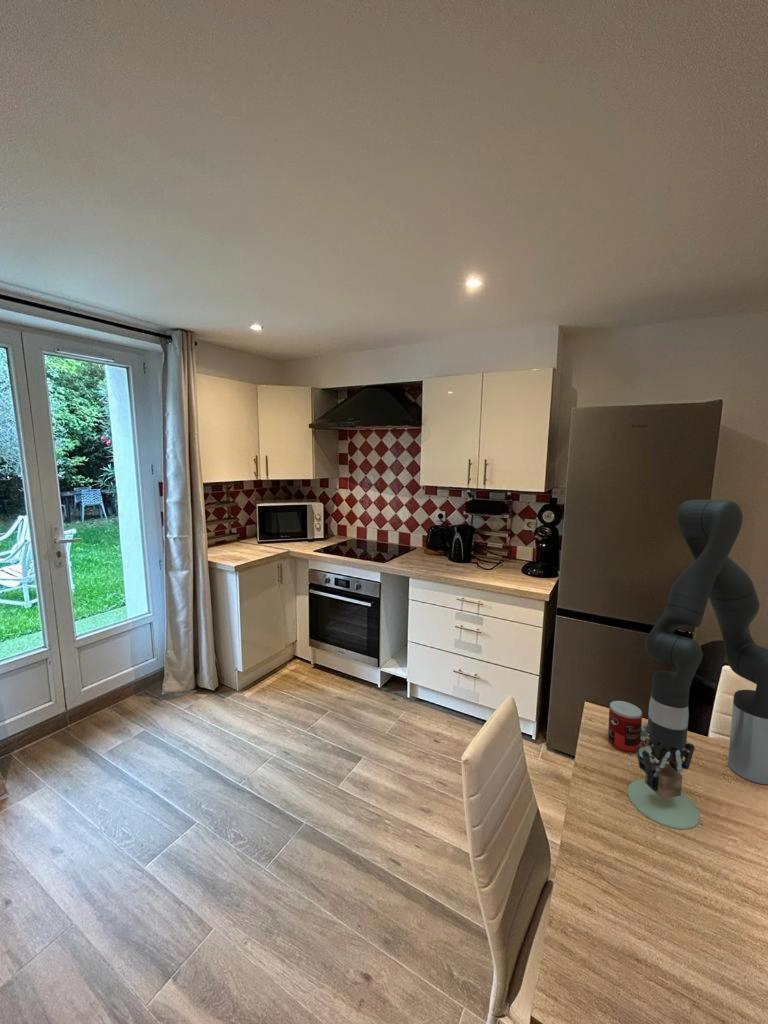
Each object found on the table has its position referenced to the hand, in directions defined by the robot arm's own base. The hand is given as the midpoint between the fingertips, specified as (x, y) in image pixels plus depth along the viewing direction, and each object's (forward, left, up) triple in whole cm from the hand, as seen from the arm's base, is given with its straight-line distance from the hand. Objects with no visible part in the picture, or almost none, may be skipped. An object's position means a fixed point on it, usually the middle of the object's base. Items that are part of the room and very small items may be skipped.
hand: (662, 786), depth 97 cm
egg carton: (-17, -19, -5) cm, 26 cm away
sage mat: (0, 0, -4) cm, 4 cm away
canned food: (-7, -20, -5) cm, 22 cm away
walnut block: (0, 0, -1) cm, 1 cm away
